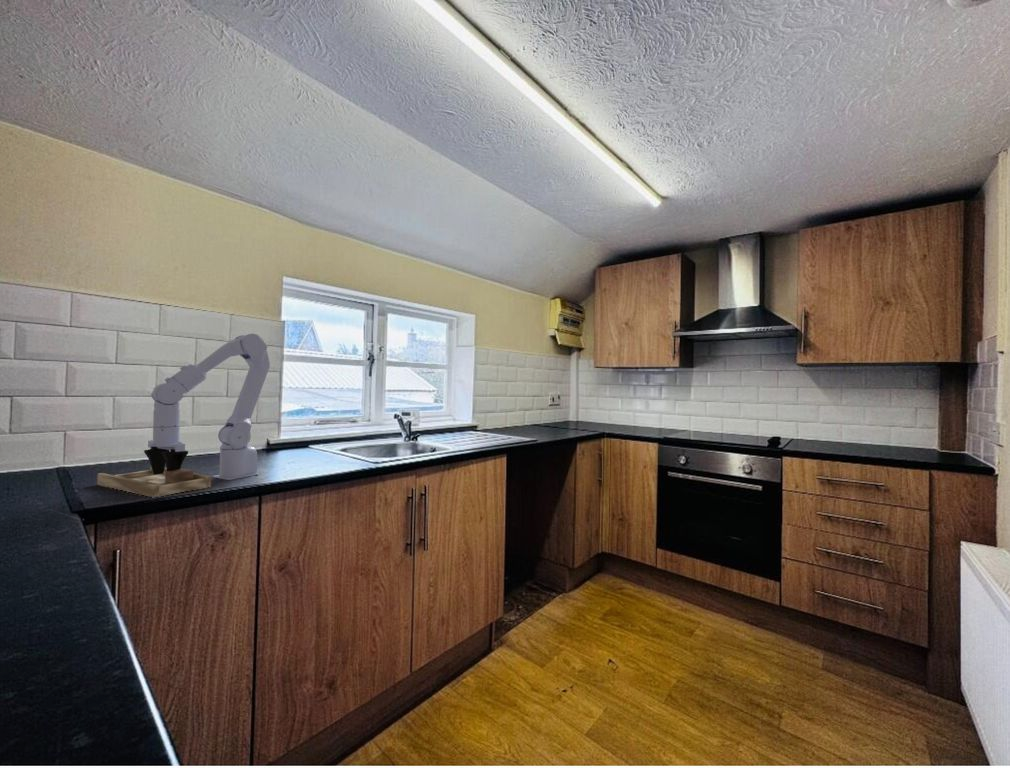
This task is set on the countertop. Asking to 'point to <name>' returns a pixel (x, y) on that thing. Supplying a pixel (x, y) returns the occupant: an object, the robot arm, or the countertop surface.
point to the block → (178, 476)
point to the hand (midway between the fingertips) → (165, 475)
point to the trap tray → (151, 483)
